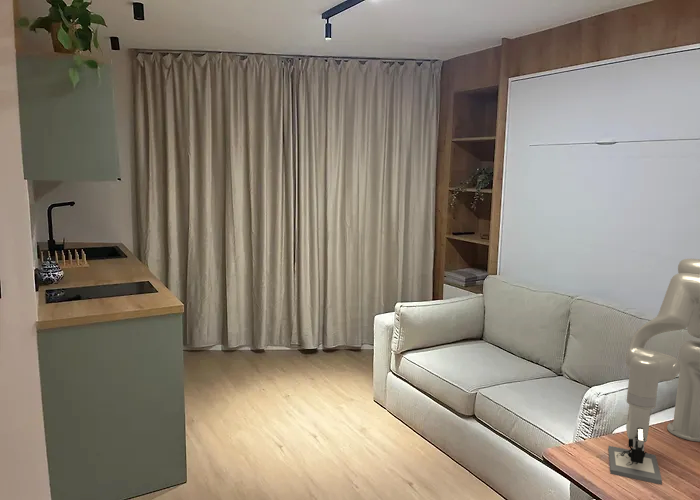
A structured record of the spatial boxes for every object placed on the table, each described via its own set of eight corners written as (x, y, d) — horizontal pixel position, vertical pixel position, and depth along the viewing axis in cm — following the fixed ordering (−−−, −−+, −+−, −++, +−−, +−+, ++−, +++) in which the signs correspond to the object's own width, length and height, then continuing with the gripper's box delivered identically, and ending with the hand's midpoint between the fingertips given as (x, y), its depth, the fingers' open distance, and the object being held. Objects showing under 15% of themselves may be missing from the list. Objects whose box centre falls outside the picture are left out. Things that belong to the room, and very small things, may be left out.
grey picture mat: (608, 449, 177) (608, 445, 177) (655, 458, 172) (655, 454, 172) (610, 473, 162) (610, 469, 162) (661, 484, 157) (662, 480, 157)
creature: (620, 469, 164) (650, 467, 162) (617, 451, 164) (647, 449, 162) (614, 456, 172) (642, 454, 170) (611, 439, 172) (640, 437, 170)
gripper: (625, 386, 174) (619, 439, 176) (629, 408, 158) (622, 465, 160) (652, 390, 171) (646, 444, 173) (659, 413, 155) (652, 471, 157)
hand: (635, 454), depth 167 cm, fingers open, 9 cm apart
